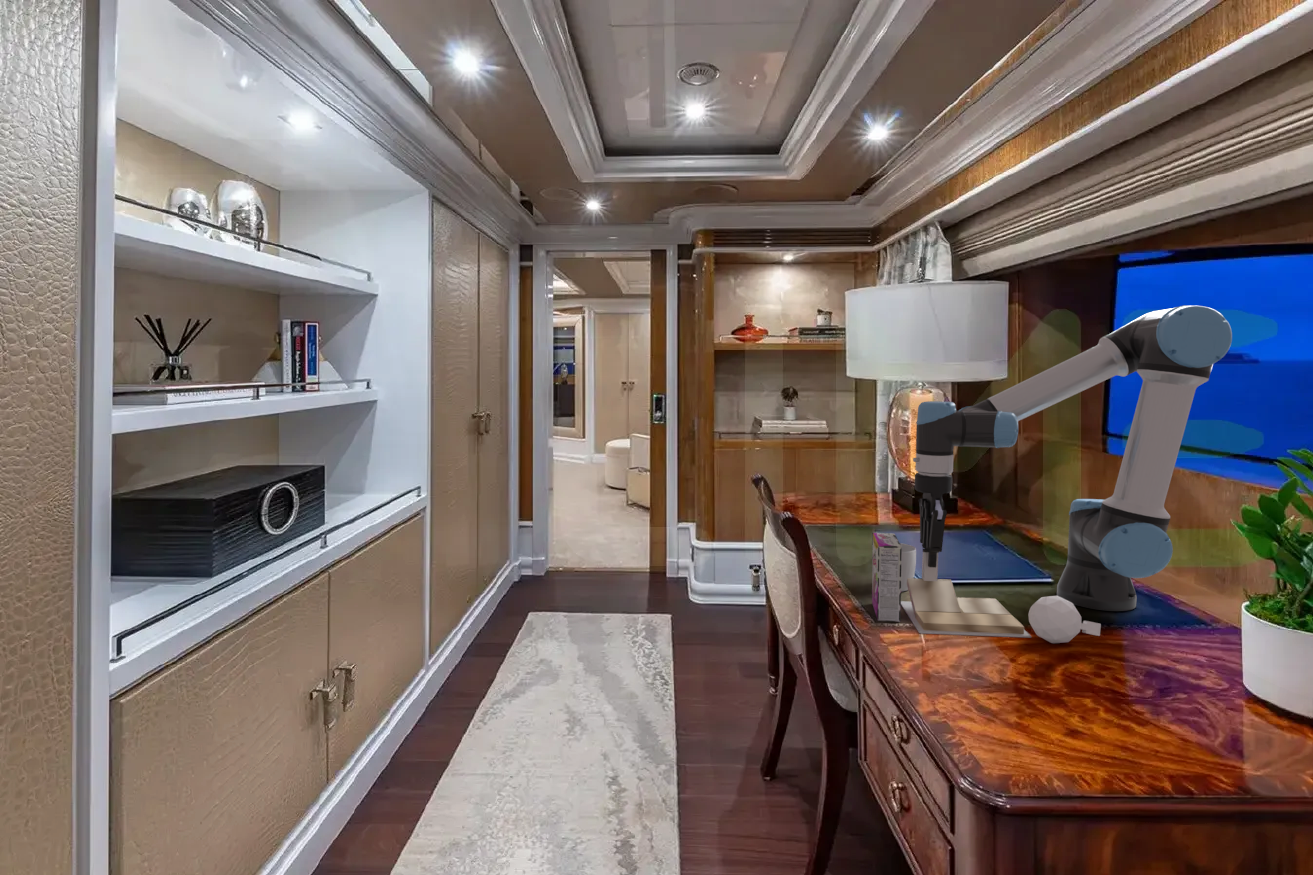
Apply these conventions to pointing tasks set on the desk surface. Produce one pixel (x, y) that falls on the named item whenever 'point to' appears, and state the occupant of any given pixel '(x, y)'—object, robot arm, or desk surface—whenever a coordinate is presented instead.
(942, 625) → the laid plank
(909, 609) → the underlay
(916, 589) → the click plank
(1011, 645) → the desk surface
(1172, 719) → the desk surface
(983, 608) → the panel
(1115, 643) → the desk surface
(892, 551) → the candy bar box
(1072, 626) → the perfume bottle
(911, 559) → the mug
